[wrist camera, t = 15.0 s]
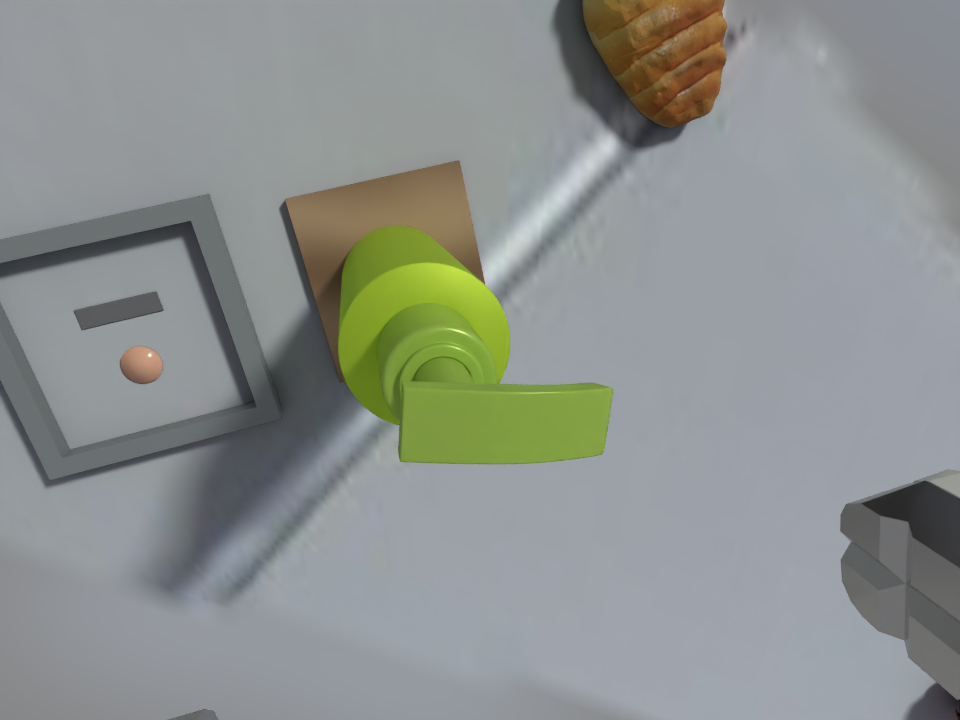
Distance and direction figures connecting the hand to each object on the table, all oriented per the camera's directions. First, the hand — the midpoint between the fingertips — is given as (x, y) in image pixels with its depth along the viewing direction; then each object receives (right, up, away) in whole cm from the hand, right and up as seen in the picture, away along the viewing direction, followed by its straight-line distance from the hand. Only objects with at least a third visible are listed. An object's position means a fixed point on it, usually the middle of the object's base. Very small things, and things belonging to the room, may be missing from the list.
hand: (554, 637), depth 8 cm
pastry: (+8, +21, +25) cm, 34 cm away
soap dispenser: (-5, +8, +26) cm, 28 cm away
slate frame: (-19, +5, +24) cm, 31 cm away
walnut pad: (-5, +8, +26) cm, 28 cm away
